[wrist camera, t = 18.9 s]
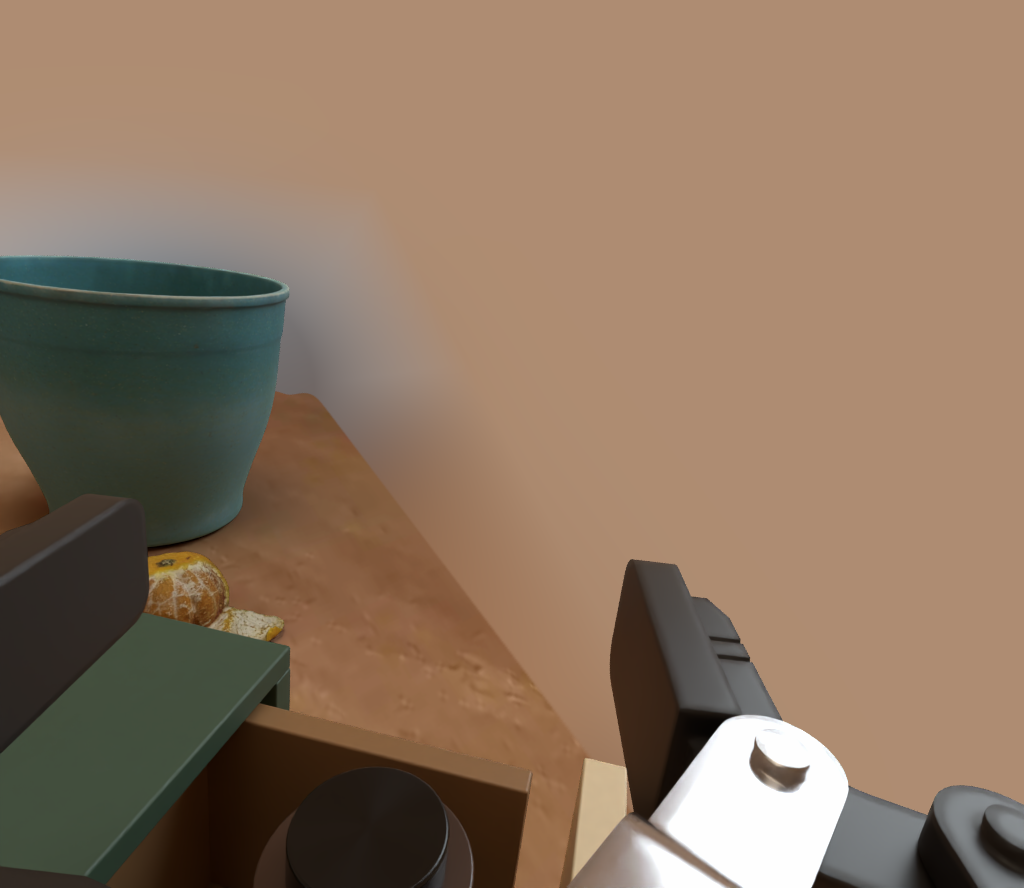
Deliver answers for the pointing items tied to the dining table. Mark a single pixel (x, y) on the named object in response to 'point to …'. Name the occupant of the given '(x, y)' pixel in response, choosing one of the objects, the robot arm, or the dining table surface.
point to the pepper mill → (368, 837)
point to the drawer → (324, 754)
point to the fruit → (201, 597)
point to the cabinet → (129, 743)
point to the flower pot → (139, 382)
